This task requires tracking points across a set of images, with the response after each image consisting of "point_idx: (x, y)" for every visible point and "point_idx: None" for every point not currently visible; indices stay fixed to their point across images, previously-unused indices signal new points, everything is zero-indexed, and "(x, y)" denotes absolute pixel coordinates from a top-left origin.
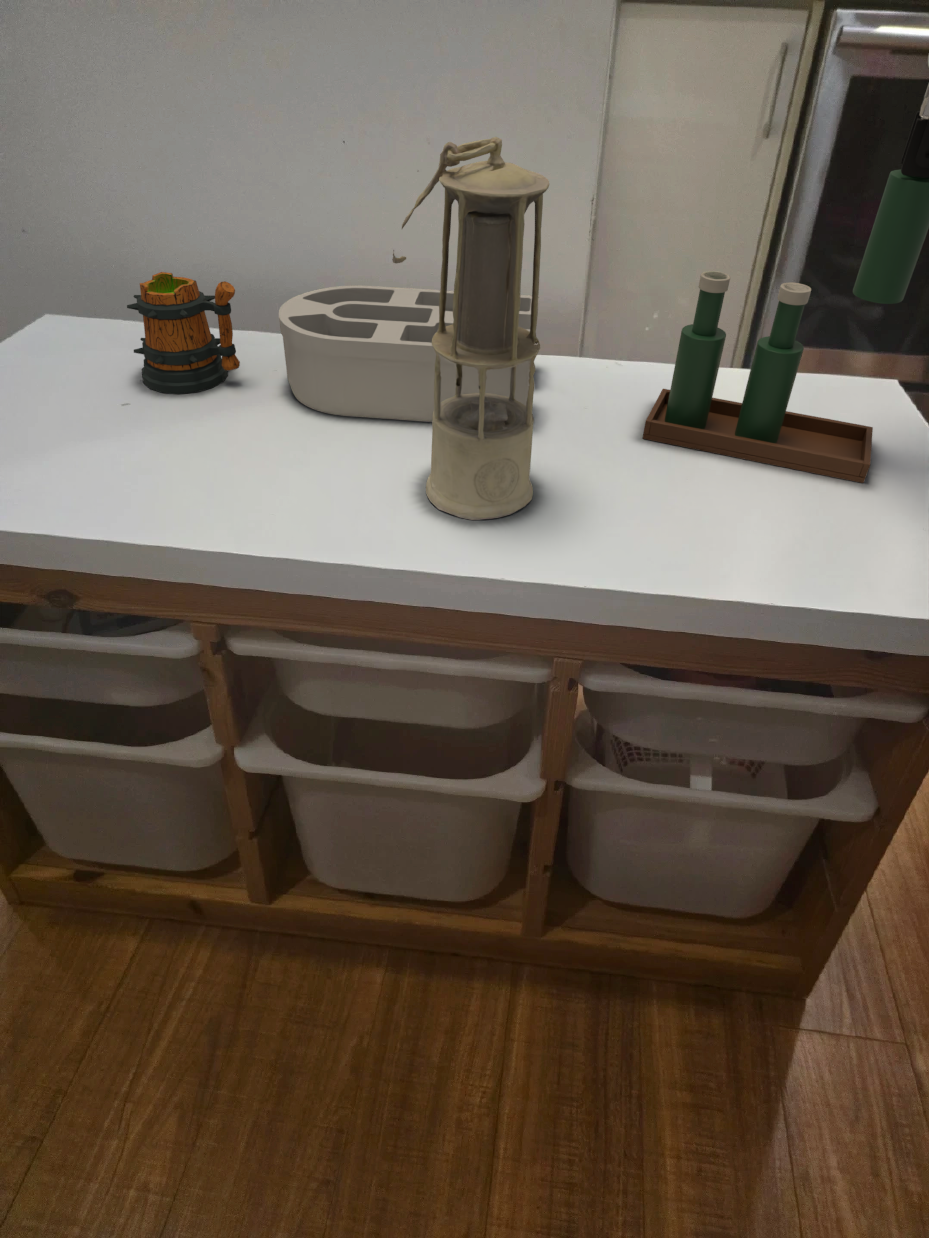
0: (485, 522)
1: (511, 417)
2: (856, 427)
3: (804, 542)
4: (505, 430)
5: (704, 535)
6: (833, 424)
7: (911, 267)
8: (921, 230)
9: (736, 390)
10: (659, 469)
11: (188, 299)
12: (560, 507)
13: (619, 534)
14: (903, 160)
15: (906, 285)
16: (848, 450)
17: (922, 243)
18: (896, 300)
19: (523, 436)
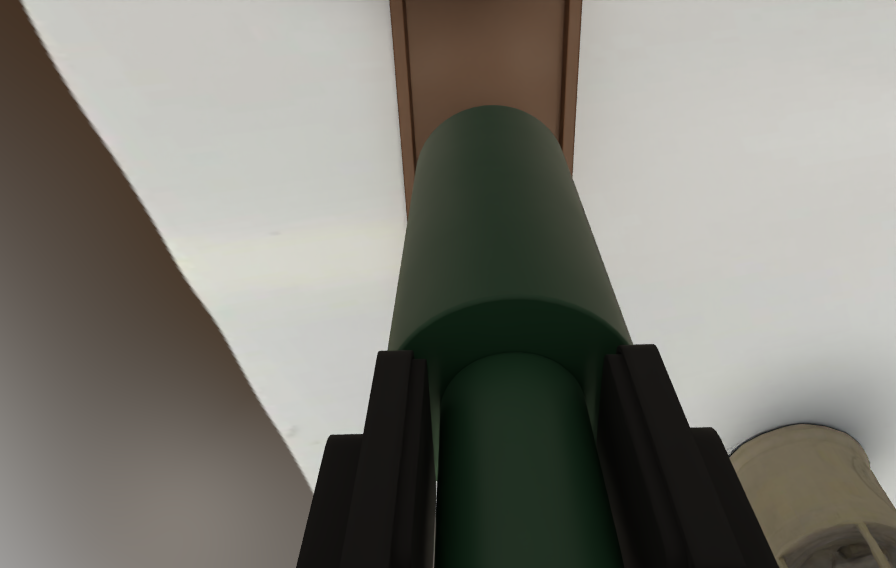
0: (868, 449)
1: (835, 545)
2: (403, 11)
3: (842, 49)
4: (888, 542)
5: (850, 205)
6: (407, 61)
7: (542, 154)
8: (575, 221)
9: (276, 248)
10: (652, 303)
11: None
12: (809, 389)
13: (870, 310)
14: (435, 503)
15: (530, 128)
16: (465, 9)
17: (531, 176)
18: (546, 128)
19: (880, 518)
